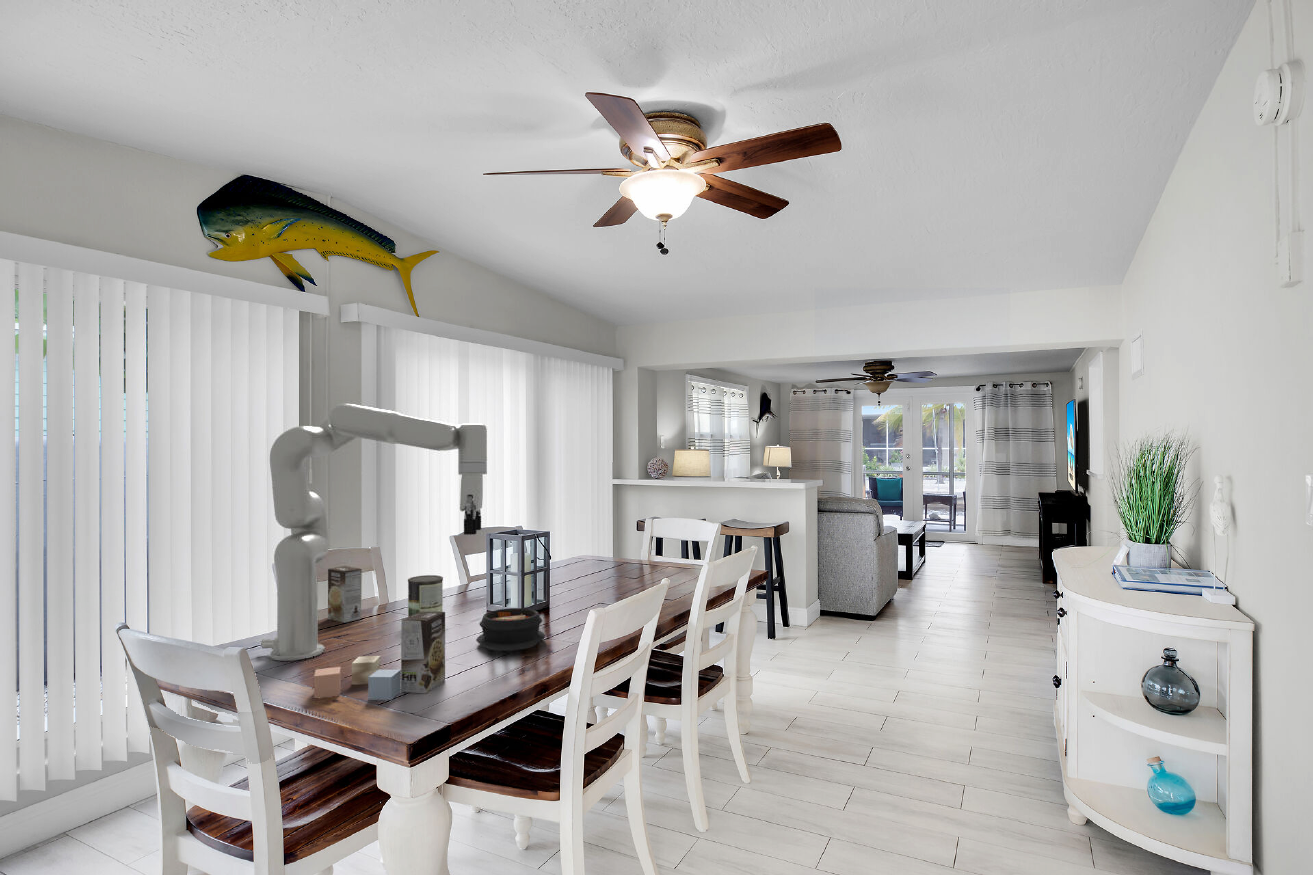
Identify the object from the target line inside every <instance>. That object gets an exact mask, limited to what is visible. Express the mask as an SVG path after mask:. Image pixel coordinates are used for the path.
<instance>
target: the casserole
mask: <svg viewBox="0 0 1313 875" xmlns="http://www.w3.org/2000/svg"><path fill="white" fill-rule="evenodd" d="M542 622H543V619H542V618H541V616H540V613H539V611H537V610H534V609H531V608H524V607H522V608H519V607H513V608H511V607H510V608H500V609H496V610H492V611H489V612H486V613H484V614H483V616H482V619H481V620H480V621H479V623H478V625H479V627H480V628H481V629H482V634H480V635H479V636H477V638H476V640H475V641H476V642H477V643H478V644H479V645H482V646H483V647H486V649H488V650H490V651H494V652H514V651H523V650H528V649H532V648H534V647H535V646H536V645H537V644H538V643H540V642H541V641H542V640H543V641H544V639H545V638H546V634H545V633H544V632H543V631H540V625H541V623H542Z"/></svg>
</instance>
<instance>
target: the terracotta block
mask: <svg viewBox="0 0 1313 875" xmlns="http://www.w3.org/2000/svg"><path fill="white" fill-rule="evenodd" d="M341 677H342V676H341V666H337V667H336V666H334V667H326V668H325V667H324V668H316V669H315V672H314V675H313V681H314V682H313V699H314V698H318V697H327V698H332V697H331V696H335V697H341V696H340V694H341V689H342V688H341Z"/></svg>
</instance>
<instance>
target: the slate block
mask: <svg viewBox="0 0 1313 875" xmlns="http://www.w3.org/2000/svg"><path fill="white" fill-rule="evenodd" d="M367 685H368V687H367V688H368V689H367V690H368V700H369V701H392V700H394V699H395V698H396V697H397V696H398V695H399V694H400V693H401V669H380V670H377V671H376V672H375V673H373V674H372V675H370V676H369V683H368V684H367Z"/></svg>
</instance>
